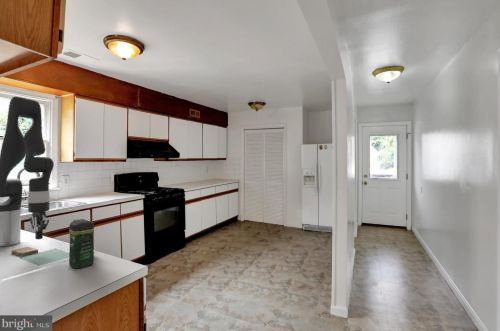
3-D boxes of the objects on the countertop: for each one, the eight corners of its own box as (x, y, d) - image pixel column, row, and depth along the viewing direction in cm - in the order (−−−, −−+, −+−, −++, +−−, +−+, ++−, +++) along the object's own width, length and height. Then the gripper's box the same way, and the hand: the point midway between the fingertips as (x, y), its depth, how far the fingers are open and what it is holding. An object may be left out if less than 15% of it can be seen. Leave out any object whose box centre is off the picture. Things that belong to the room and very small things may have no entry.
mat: (18, 259, 114) (18, 257, 114) (55, 249, 126) (55, 248, 126) (38, 267, 106) (38, 265, 106) (75, 256, 118) (75, 254, 118)
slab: (22, 259, 115) (11, 255, 119) (38, 254, 120) (27, 251, 124) (22, 253, 115) (11, 250, 119) (38, 249, 120) (27, 246, 124)
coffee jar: (96, 264, 109) (97, 220, 109) (74, 270, 103) (75, 223, 103) (87, 259, 115) (87, 216, 115) (66, 264, 109) (66, 219, 109)
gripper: (21, 200, 119) (21, 238, 119) (36, 203, 113) (36, 243, 113) (41, 198, 126) (41, 234, 126) (56, 201, 119) (56, 239, 120)
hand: (39, 238), depth 119 cm, fingers closed
